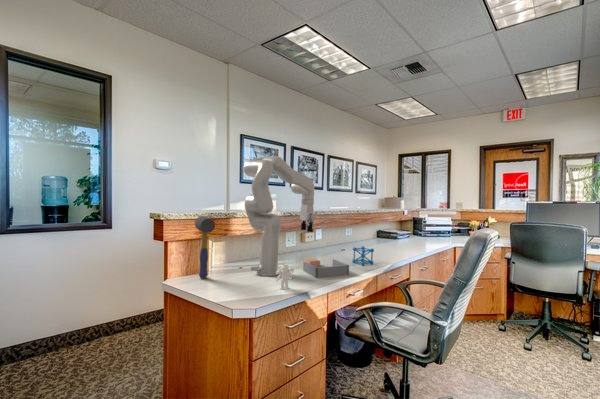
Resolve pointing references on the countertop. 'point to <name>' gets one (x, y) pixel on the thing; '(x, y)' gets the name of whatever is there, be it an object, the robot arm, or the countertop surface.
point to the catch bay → (327, 269)
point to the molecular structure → (363, 255)
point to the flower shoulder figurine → (284, 275)
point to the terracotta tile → (313, 262)
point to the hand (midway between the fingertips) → (306, 230)
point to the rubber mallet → (204, 242)
